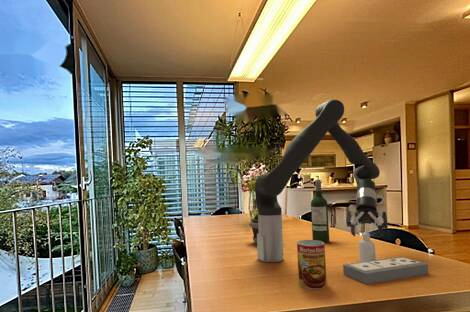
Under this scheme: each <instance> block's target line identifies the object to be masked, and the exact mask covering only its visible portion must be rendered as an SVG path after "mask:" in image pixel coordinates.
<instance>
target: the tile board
mask: <svg viewBox="0 0 470 312" xmlns="http://www.w3.org/2000/svg"><path fill="white" fill-rule="evenodd" d="M342 269H343V275H344V276H347V277H348V278H351V279H354V280H356V281H357V282H360V283H362V284H365V285H370V284H376V283H377V284H378V283H383V282H389V281H393V280H401V279H406V278H411V277H417V276H423V275H425V276H426V275H429V264H428V263H425V262H422V261H419V260H415V259H411V258H407V257H403V256H397V257H390V258H382V259H376V260H374V261H367V262H360V261H359V262H354V263H348V264H347V263H346V264H342Z"/></svg>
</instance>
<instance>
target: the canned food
mask: <svg viewBox="0 0 470 312" xmlns="http://www.w3.org/2000/svg"><path fill="white" fill-rule="evenodd" d="M325 244H326V243H324V242H322V241H317V240H313V239H303V240H298V241H297V242H296V248H297V250H296V251H297V252H296V253H297V269H298V270H297V271H298V285H299V286H300V287H301V288H304V289H307V290H321V289H322V290H323V289H324V288H326V287H327V284H328V283H327V267H326V264H327V263H326V247H325Z"/></svg>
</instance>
